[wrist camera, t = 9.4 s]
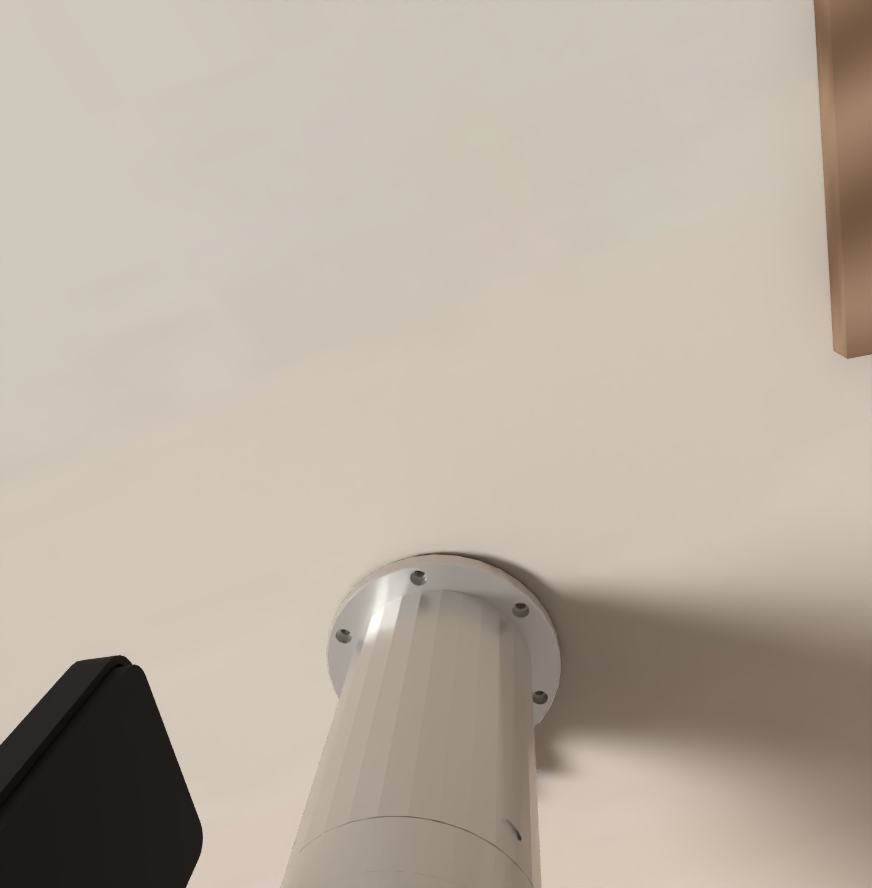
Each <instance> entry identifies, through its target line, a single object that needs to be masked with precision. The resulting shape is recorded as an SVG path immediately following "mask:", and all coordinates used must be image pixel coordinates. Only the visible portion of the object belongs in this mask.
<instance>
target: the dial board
mask: <svg viewBox="0 0 872 888" xmlns="http://www.w3.org/2000/svg"><path fill="white" fill-rule="evenodd" d="M814 10H815V27H816V45H817V63H818V80H819V98H820V116H821V134H822V151H823V169H824V187H825V204H826V222H827V240H828V257H829V275H830V293H831V311H832V328H833V346H834V351H835V352H837V353H839V354H840V355H842V356H844V357H845V358H847V359H849V358H854V357H860V356H865V355H870V354H872V0H814Z"/></svg>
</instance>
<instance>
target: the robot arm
mask: <svg viewBox="0 0 872 888" xmlns="http://www.w3.org/2000/svg"><path fill="white" fill-rule="evenodd" d="M417 571H422V572H423V573H419V572H417ZM518 603H524V604H518ZM326 656H327V666H328V673H329V676H330V680H331V683H332V686H333V689H334V691H335V693H336V695H337V696H338V698H339V701H338V704H337V707H336V711H335V714H334V717H333V720H332V723H331V727H330V730H329V733H328V736H327V739H326V743H325V746H324V749H323V752H322V755H321V759H320V762H319V765H318V768H317V771H316V774H315V778H314V781H313V784H312V787H311V790H310V794H309V797H308V800H307V803H306V806H305V810H304V813H303V816H302V819H301V822H300V826H299V829H298V832H297V835H296V838H295V841H294V845H293V848H292V852H291V855H290V858H289V861H288V864H287V867H286V871H285V874H284V877H283V881H282V884H281V887H280V888H542V884H541V862H540V841H539V820H538V798H537V777H536V756H535V735H534V727H535V726H536V725H537V724H538V723H540V722H541V720H542V719H543V717H544V716H545V714H546V713H547V711H548V710H549V708H550V707H551V705H552V703H553V701H554V698H555V695H556V693H557V690H558V688H559V681H560V674H561V659H560V648H559V644H558V639H557V634H556V630H555V628H554V626H553V624H552V621H551V619H550V617H549V615H548V613H547V611H546V610H545V609H544V607H543V606H542V604H541V603H540V602H539V600H538V599H537V597H536V596H535V595H534V594H533V593H532V592H530V591H529V590H528V589H527V588H526V587H525V586H524V585H523V584H522V583H521V582H520V581H518V580H517V579H515V578H513V577H512V576H510V575H509V574H507V573H506V572H504V571H502V570H501V569H498V568H496V567H494V566H491V565H489V564H486V563H484V562H481V561H478V560H474V559H470V558H465V557H461V556H454V555H436V554H433V555H424V556H416V557H410V558H406V559H403V560H400V561H396V562H393V563H390V564H388V565H386V566H384V567H382V568H380V569H378V570H376V571H375V572H373V573H371V574H370V575H368V576H367V577H366V578H365V579H363V580H362V581H361V582H360V583H358V584H357V585H356V586H355V587H354V588H353V589H352V591H351V592H350V593H349V594H348V596H347V597H346V598H345V599H344V600H343V602H342V604H341V606H340V608H339V610H338V612H337V614H336V616H335V618H334V621H333V624H332V626H331V629H330V632H329V636H328V644H327V652H326ZM202 842H203V833H202V827H201V823H200V820H199V817H198V815H197V812H196V809H195V807H194V804H193V801H192V799H191V796H190V793H189V791H188V788H187V785H186V783H185V780H184V777H183V775H182V772H181V769H180V767H179V764H178V761H177V758H176V756H175V753H174V750H173V748H172V745H171V742H170V740H169V737H168V734H167V732H166V729H165V726H164V724H163V721H162V718H161V716H160V713H159V710H158V708H157V705H156V702H155V700H154V697H153V694H152V691H151V689H150V686H149V683H148V681H147V678H146V675H145V673H144V671H143V670H142V669H141V668H140V667H139V666H138V665H132V664H131V662H130V661H129V660H128V659H127V658H126V657H124V656H121V655H118V656H110V657H103V658H96V659H88V660H82V661H77V662H76V663H74V664H73V665H72V666H71V667H70V668H69V669H68V670H67V671H66V672H65V673H64V675H63V676H62V677H61V678H60V679H59V680H58V681H57V682H56V683H55V685H54V686H53V687H52V688H51V689H50V690H49V691H48V692H47V694H46V695H45V696H44V697H43V698H42V699H41V700H40V701H39V702H38V704H37V705H36V706H35V707H34V708H33V709H32V710H31V711H30V713H29V714H28V715H27V716H26V717H25V718H24V719H23V720H22V722H21V723H20V724H19V725H18V726H17V727H16V728H15V729H14V730H13V732H12V733H11V734H10V735H9V736H8V737H7V738H6V739H5V741H4V742H3V743H2V744H1V745H0V888H186V886H187V884H188V881H189V879H190V877H191V875H192V873H193V870H194V868H195V866H196V864H197V861H198V859H199V856H200V854H201V849H202Z"/></svg>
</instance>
